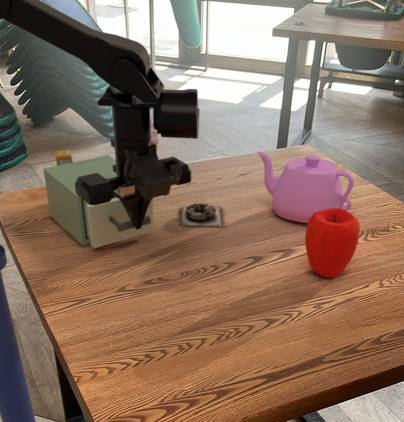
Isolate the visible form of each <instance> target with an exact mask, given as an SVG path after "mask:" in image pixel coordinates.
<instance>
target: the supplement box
mask: <svg viewBox="0 0 404 422" xmlns="http://www.w3.org/2000/svg"><path fill="white" fill-rule="evenodd" d="M54 156H55V157H54V158H55V161H56V166H59V165H64V164H69V163H74V161H73V156H72V153H71V150H70V149H65V150H58V151H55V152H54Z"/></svg>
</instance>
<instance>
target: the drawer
mask: <svg viewBox="0 0 404 422" xmlns="http://www.w3.org/2000/svg"><path fill="white" fill-rule="evenodd" d="M153 201H154V198H153V199H152V200H151V202H150V204H149V206H148V209H147V212H146V215H145V218H144V221H143V224H142V227H141V229H135V228H134V226H133V224H132V222H131V220H130V218H129V216H128V214H127V212H126V210H125V208H124V206H123V204H122V203H121V201H120V200H119V199H118V198H113V199H111V201H110V202H107V203H103V204H99V205H89V204H88V203H87V202H86V201H84V200H83V199H81V203H82V211H83V220H84V228H85V235H86V236H87V237H88V238H89V239H90V241H91V244H90V246H91V247H92V248H93V249H98V248H100V247H104V246H107V245H112V244H115V243H118V242H122V241H125V240H130V239H132V238H135V237H139V236H142V235H143V236H144V235H146V234H150V233H154V232H155V230H154V203H153Z"/></svg>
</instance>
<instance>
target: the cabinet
mask: <svg viewBox="0 0 404 422" xmlns="http://www.w3.org/2000/svg"><path fill="white" fill-rule="evenodd" d="M113 165H116V159H114V158H113V157H111V156H109V155H103V156H98V157H94V158H88V159H84V160H79V161H75V162H74V161H73V163H69V164H64V165H59V166H57V165H55V166H50V167H45V168H43V170H42V171H43V175H44V183H45V188H46V194H47V195H46V196H47V201H48V208H49V214H50V217H51V218H52V219H53V220H54V221H55V222H56V223H57V224H58V225H59V226H61V227H62V228H63V229H64V231H66V232H67V233H68V234H69V235H70V236H71V237H72V238H73V239H75V240H76V241H77V243H79V244H80V245H81V246H82V247H84V246H87V245H91V241H90V239H89V238H88V237H87V236H86V235H85V228H84V220H83V211H82V203H81V199H82V198H81V197H80V196H78V195H77V194H76V189H75V182H76V180H77V178H78V177H80V176H85V175H89V174H94V173H99V174H100V175H101V176H103V177H104V178H105V179H109V178H113V177H117V174H116V173H115V172H113Z"/></svg>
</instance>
